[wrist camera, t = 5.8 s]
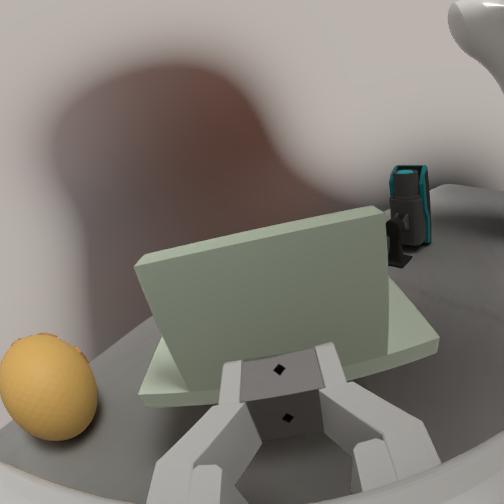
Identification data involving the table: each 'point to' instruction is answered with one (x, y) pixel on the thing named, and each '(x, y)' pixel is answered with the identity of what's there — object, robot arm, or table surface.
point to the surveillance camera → (408, 211)
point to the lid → (277, 303)
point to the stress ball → (48, 387)
